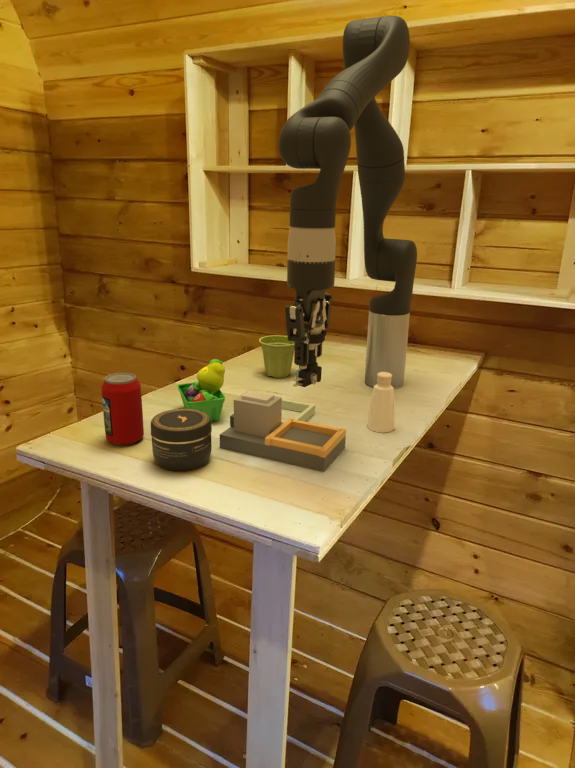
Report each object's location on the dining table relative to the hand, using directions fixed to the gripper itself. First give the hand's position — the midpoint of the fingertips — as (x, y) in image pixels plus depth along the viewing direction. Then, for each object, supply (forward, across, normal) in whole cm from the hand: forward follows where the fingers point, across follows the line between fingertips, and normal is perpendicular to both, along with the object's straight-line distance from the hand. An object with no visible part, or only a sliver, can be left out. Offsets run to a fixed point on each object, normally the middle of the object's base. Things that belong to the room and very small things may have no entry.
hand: (308, 360), depth 97 cm
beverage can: (+17, -10, +31) cm, 37 cm away
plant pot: (+17, +37, +24) cm, 47 cm away
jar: (+17, -12, +17) cm, 27 cm away
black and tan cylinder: (+4, -1, 0) cm, 4 cm away
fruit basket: (+17, +7, +26) cm, 32 cm away
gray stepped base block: (+17, 0, +4) cm, 18 cm away
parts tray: (+17, +12, +12) cm, 24 cm away
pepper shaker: (+17, +17, -8) cm, 26 cm away
